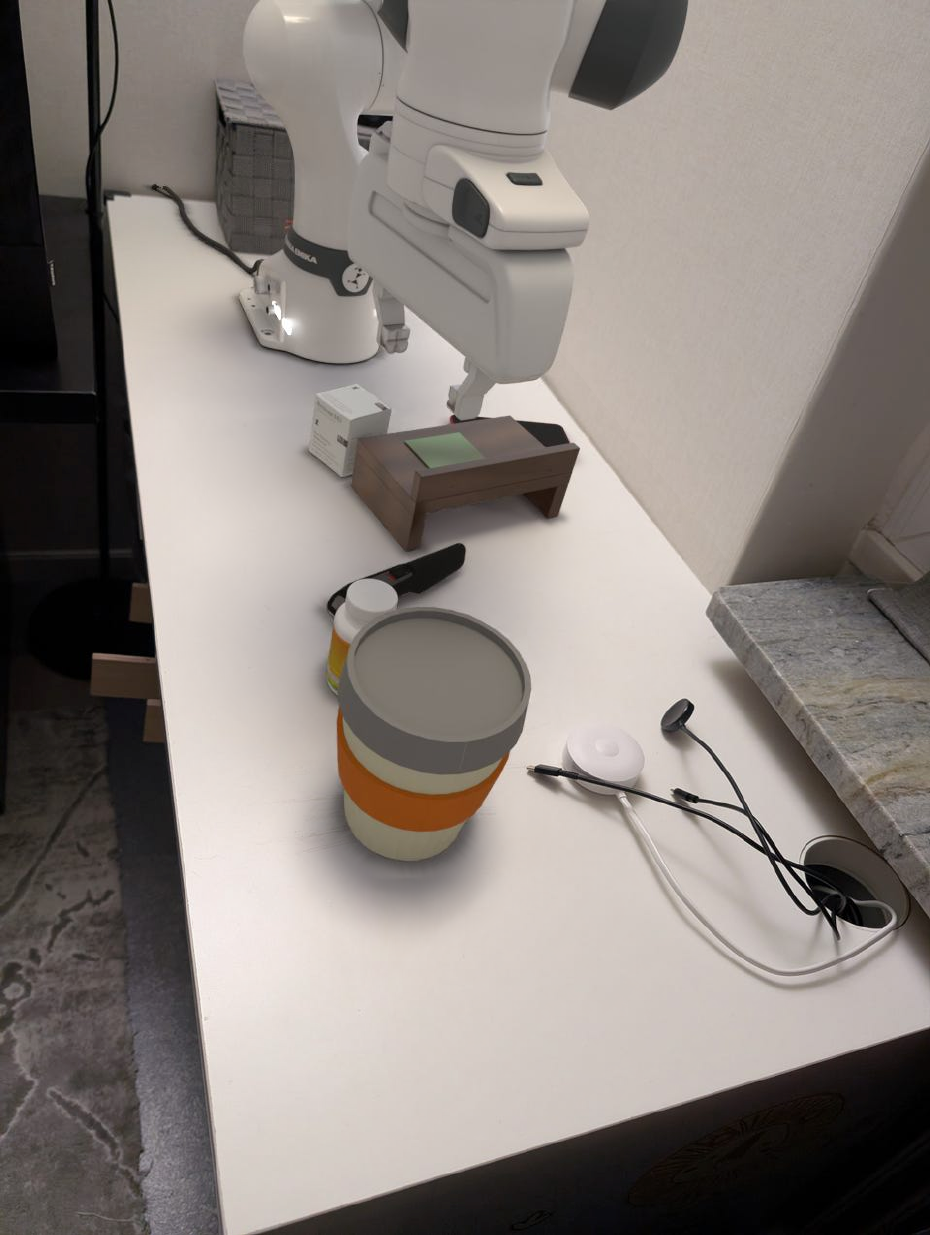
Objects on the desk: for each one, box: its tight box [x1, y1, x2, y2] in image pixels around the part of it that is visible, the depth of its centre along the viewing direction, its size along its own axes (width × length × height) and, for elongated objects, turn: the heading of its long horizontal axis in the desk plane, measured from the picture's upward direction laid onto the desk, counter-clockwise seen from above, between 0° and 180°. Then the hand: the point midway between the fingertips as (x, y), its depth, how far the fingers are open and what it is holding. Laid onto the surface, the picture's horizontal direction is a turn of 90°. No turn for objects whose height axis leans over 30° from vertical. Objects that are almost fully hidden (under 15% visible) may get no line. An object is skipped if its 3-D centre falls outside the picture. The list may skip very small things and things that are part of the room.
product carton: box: [308, 383, 393, 478], centre depth 98 cm, size 6×6×7 cm
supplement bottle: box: [325, 578, 399, 696], centre depth 73 cm, size 5×5×10 cm
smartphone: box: [449, 414, 571, 447], centre depth 111 cm, size 7×1×15 cm
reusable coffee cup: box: [336, 606, 532, 862], centre depth 62 cm, size 13×13×15 cm
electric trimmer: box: [326, 542, 467, 618], centre depth 85 cm, size 4×16×3 cm, turn 134°
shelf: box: [350, 415, 581, 553], centre depth 96 cm, size 12×20×9 cm, turn 123°
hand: (425, 380), depth 62 cm, fingers open, 8 cm apart
